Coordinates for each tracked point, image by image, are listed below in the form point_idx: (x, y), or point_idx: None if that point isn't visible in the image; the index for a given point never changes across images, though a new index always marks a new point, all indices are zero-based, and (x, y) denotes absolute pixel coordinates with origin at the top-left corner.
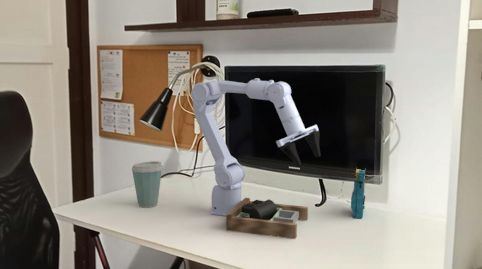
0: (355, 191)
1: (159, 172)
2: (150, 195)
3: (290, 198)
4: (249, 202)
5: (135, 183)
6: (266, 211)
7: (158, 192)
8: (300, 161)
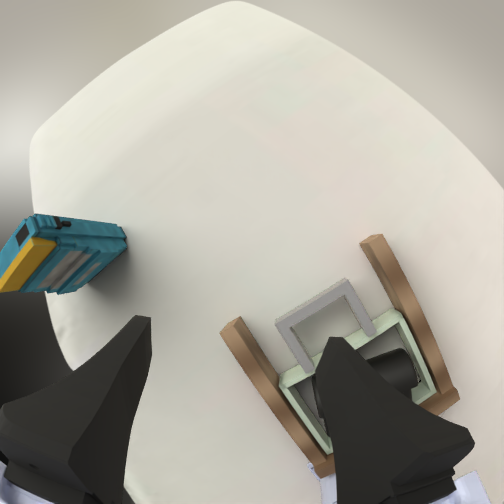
0: (81, 241)
1: None
2: None
3: (150, 446)
4: (325, 459)
5: None
6: (373, 367)
7: None
8: (337, 348)
